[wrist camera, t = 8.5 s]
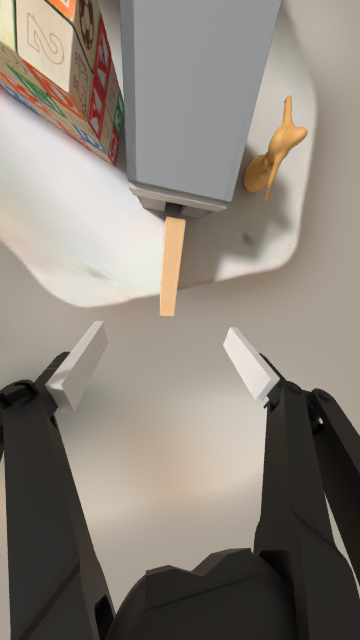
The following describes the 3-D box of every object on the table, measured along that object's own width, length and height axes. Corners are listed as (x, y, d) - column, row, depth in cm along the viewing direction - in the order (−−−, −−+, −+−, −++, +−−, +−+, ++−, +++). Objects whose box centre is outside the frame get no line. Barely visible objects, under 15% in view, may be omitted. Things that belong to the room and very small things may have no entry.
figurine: (255, 210, 25) (320, 190, 15) (224, 211, 25) (269, 192, 15) (269, 141, 21) (371, 51, 11) (232, 141, 21) (302, 45, 10)
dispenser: (143, 88, 17) (111, -194, 6) (216, 113, 19) (298, -69, 8) (143, 210, 23) (127, 184, 12) (198, 221, 25) (229, 207, 14)
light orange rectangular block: (164, 223, 24) (166, 216, 17) (178, 225, 25) (185, 219, 17) (160, 296, 31) (160, 315, 24) (170, 297, 32) (173, 316, 24)
